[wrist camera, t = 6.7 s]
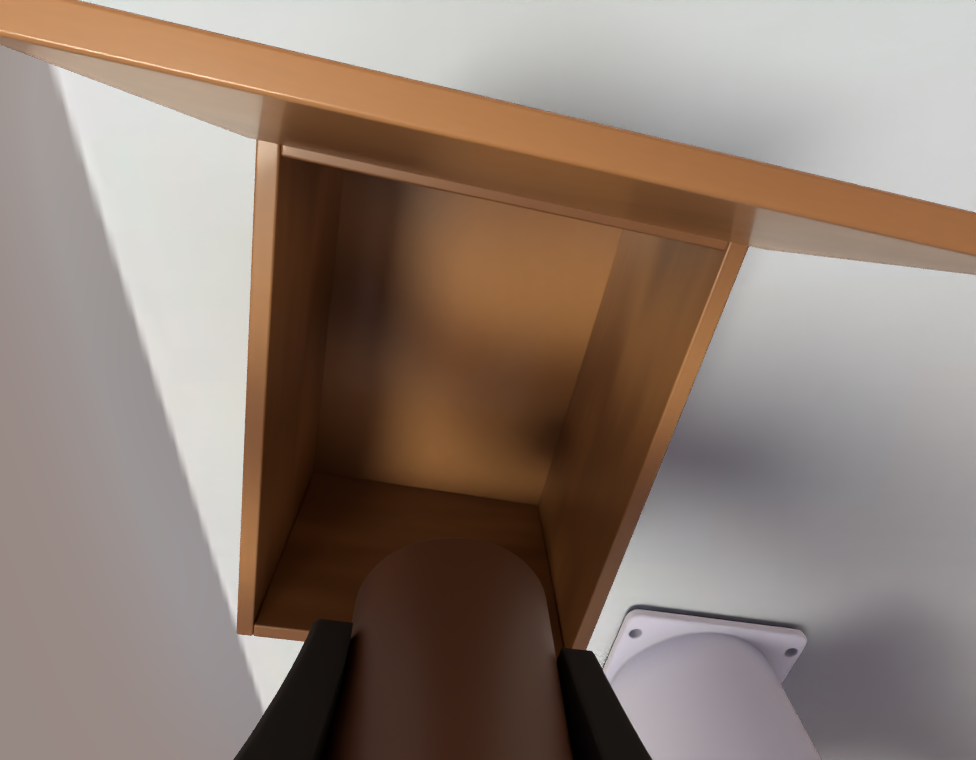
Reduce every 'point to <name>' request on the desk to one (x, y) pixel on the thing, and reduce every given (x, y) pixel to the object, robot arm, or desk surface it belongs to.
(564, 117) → the flap
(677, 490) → the desk surface
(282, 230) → the brown box
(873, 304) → the desk surface
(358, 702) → the brown cylinder
